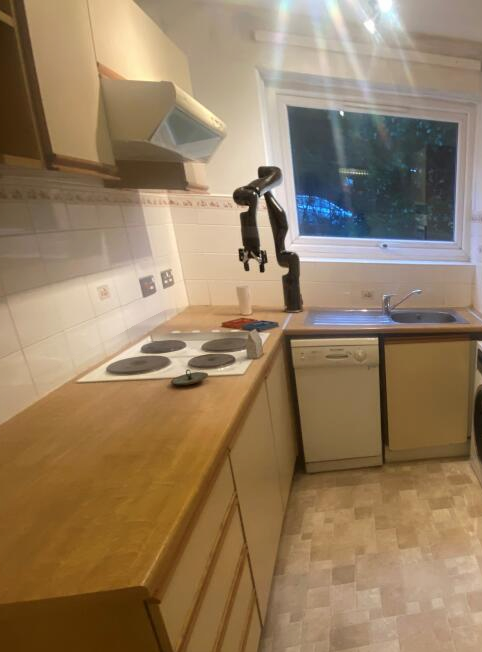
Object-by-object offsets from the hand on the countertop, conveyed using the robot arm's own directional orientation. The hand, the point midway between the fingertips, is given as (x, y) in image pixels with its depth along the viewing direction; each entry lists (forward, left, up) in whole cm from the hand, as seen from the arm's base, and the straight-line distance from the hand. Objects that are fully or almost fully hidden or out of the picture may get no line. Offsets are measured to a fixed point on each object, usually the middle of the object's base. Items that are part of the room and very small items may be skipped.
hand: (254, 271), depth 207 cm
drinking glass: (-16, -23, -26) cm, 38 cm away
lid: (+74, +36, -26) cm, 86 cm away
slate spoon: (+5, +4, -26) cm, 26 cm away
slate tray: (+5, +4, -26) cm, 26 cm away
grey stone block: (+42, +33, -26) cm, 60 cm away
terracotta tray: (+5, -8, -26) cm, 27 cm away
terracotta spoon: (+5, -8, -26) cm, 27 cm away
